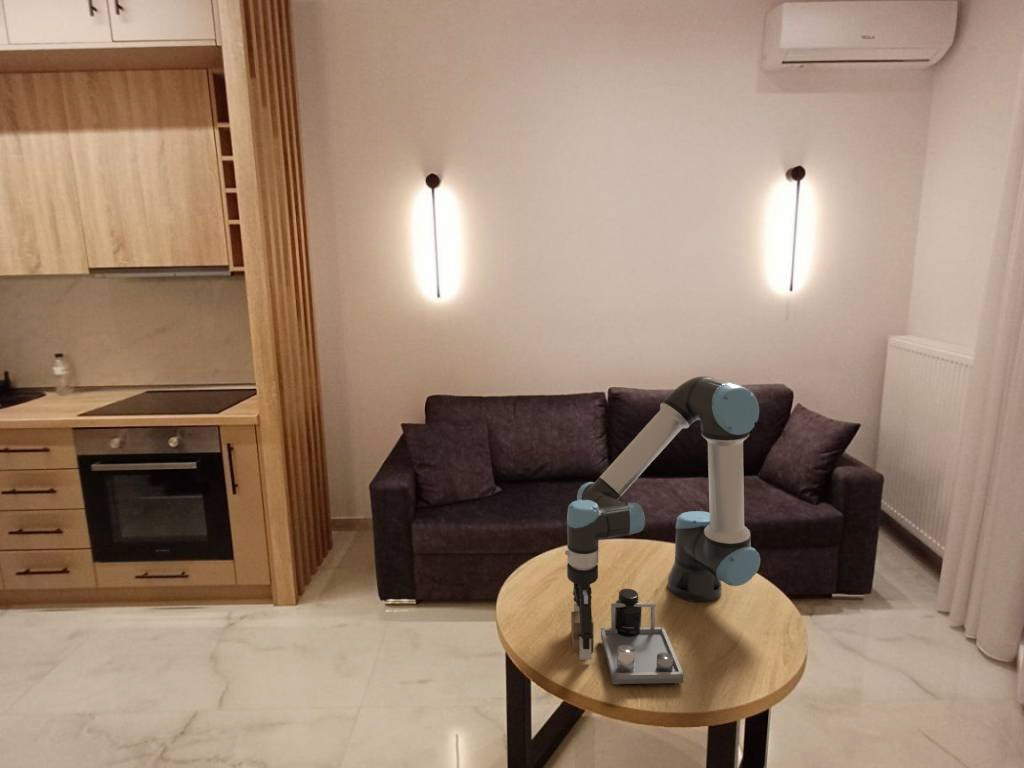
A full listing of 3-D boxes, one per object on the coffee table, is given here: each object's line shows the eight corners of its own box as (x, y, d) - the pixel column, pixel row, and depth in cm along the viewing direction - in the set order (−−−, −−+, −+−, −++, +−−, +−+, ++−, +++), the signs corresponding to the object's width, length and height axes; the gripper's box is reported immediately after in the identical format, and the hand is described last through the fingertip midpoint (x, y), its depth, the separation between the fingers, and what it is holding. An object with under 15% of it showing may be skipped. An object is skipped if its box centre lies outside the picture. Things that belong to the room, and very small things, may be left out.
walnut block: (590, 639, 157) (590, 611, 155) (593, 651, 152) (593, 622, 150) (571, 639, 157) (571, 611, 155) (573, 652, 152) (573, 623, 150)
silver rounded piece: (632, 664, 143) (632, 644, 142) (635, 675, 140) (636, 655, 139) (615, 664, 143) (615, 645, 142) (618, 675, 140) (618, 656, 139)
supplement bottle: (624, 646, 153) (625, 603, 151) (608, 632, 159) (608, 590, 156) (646, 638, 156) (647, 595, 154) (629, 625, 162) (630, 583, 160)
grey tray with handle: (663, 638, 157) (664, 601, 154) (683, 687, 139) (684, 645, 137) (600, 640, 157) (601, 602, 154) (612, 688, 139) (613, 647, 137)
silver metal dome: (670, 663, 143) (670, 652, 143) (674, 674, 140) (674, 662, 139) (654, 664, 143) (655, 652, 143) (658, 674, 140) (658, 662, 139)
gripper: (562, 540, 162) (562, 614, 166) (572, 590, 138) (572, 674, 142) (591, 540, 162) (590, 613, 166) (605, 589, 138) (604, 673, 142)
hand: (582, 641), depth 154 cm, fingers open, 12 cm apart
